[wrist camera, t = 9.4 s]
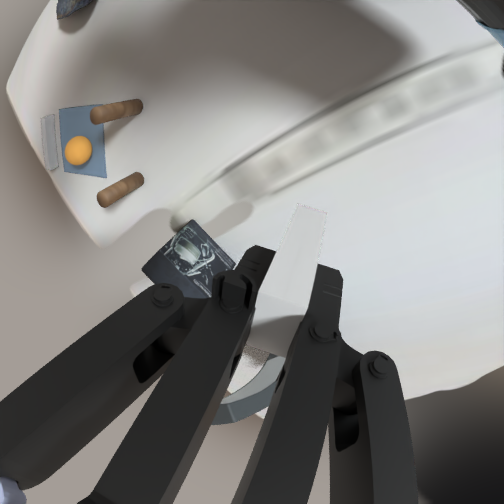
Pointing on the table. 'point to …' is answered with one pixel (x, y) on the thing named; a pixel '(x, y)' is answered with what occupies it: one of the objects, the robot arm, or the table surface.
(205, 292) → the box
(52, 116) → the wall
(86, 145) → the ball
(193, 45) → the table surface
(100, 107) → the post
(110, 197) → the post
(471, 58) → the table surface
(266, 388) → the grey curved piece
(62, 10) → the rock
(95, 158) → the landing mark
